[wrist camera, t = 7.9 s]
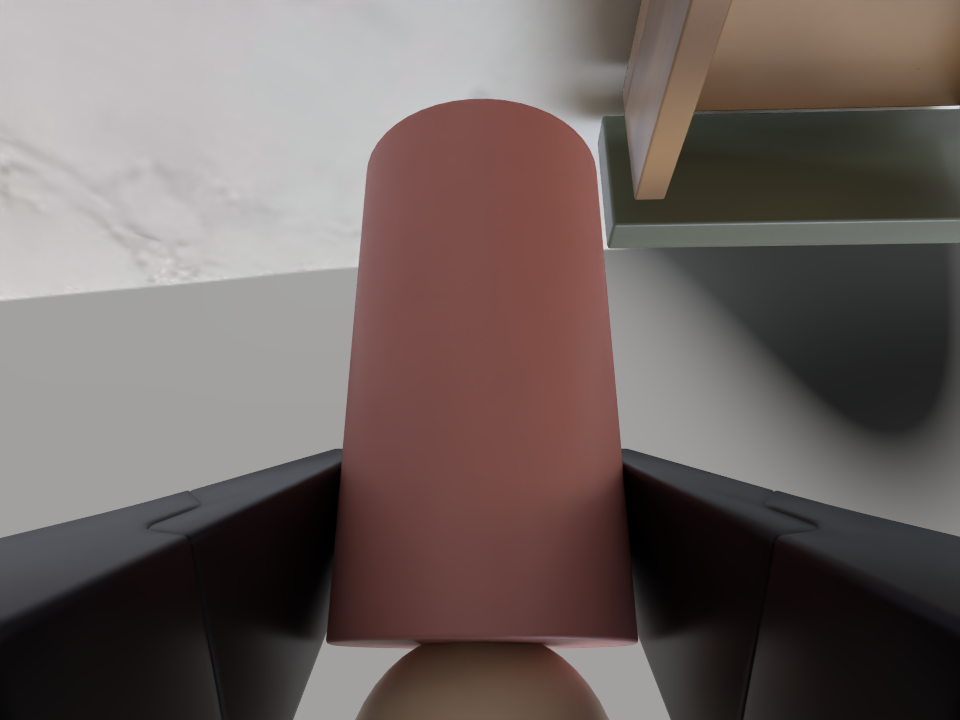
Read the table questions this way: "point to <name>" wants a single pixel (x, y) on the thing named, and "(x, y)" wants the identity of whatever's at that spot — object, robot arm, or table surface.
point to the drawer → (786, 125)
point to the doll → (481, 423)
